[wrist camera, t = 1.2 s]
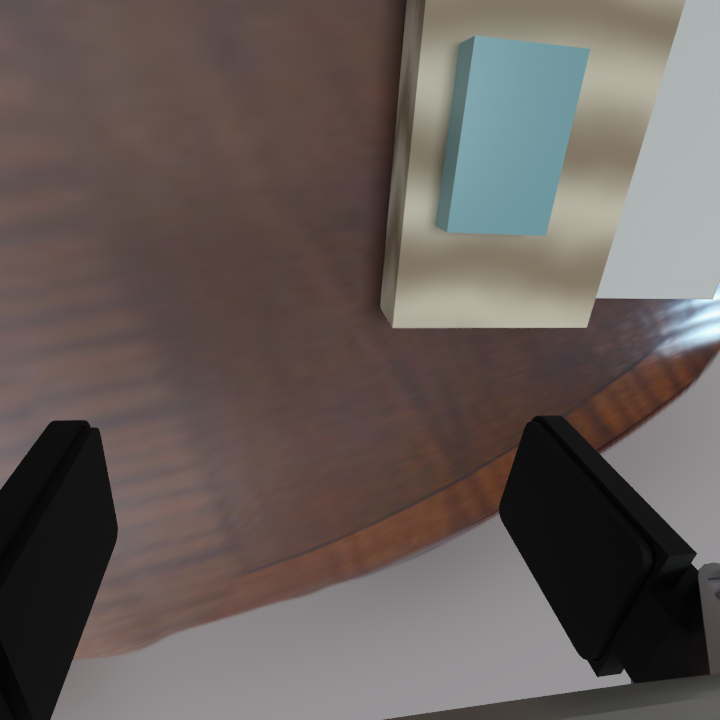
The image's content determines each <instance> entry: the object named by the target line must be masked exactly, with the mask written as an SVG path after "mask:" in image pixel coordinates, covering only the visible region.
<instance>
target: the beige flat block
mask: <svg viewBox="0 0 720 720" xmlns="http://www.w3.org/2000/svg"><path fill="white" fill-rule="evenodd" d="M685 1H686V0H407V2H406V14H405V25H404V37H403V48H402V60H401V71H400V83H399V95H398V106H397V118H396V129H395V141H394V152H393V164H392V175H391V187H390V198H389V210H388V221H387V233H386V244H385V256H384V267H383V279H382V290H381V302H380V308H381V310H382V311H383V313H384V315H385V316H386V318H387V320H388V321H389V323H390V325H391V327H392V328H587V325H588V322H589V318H590V315H591V312H592V308H593V305H594V302H595V298H596V295H597V292H598V289H599V285H600V282H601V279H602V275H603V272H604V269H605V265H606V262H607V259H608V255H609V252H610V249H611V246H612V242H613V239H614V236H615V232H616V229H617V226H618V222H619V219H620V216H621V213H622V209H623V206H624V203H625V199H626V196H627V193H628V189H629V186H630V183H631V179H632V176H633V173H634V170H635V166H636V163H637V160H638V156H639V153H640V150H641V146H642V143H643V140H644V136H645V133H646V130H647V127H648V123H649V120H650V117H651V113H652V110H653V107H654V103H655V100H656V97H657V93H658V90H659V87H660V84H661V80H662V77H663V74H664V70H665V67H666V64H667V60H668V57H669V54H670V50H671V47H672V44H673V41H674V37H675V34H676V31H677V27H678V24H679V21H680V17H681V14H682V11H683V7H684V4H685ZM475 35H476V36H484V37H493V38H501V39H510V40H518V41H527V42H535V43H544V44H553V45H561V46H570V47H578V48H587V49H590V52H589V57H588V61H587V65H586V69H585V74H584V78H583V82H582V86H581V90H580V95H579V99H578V103H577V107H576V111H575V116H574V120H573V124H572V128H571V132H570V137H569V141H568V145H567V149H566V153H565V158H564V162H563V166H562V170H561V175H560V179H559V183H558V187H557V191H556V196H555V200H554V204H553V208H552V212H551V217H550V221H549V225H548V229H547V233H546V236H532V235H505V234H477V233H449V232H445V231H443V230H442V229H440V228H438V227H436V219H437V212H438V204H439V197H440V189H441V181H442V174H443V166H444V159H445V151H446V144H447V136H448V129H449V121H450V113H451V106H452V98H453V91H454V83H455V76H456V68H457V60H458V53H459V45H460V43H461V42H463V41H465V40H467V39H469V38H471V37H473V36H475Z"/></svg>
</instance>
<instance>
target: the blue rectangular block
mask: <svg viewBox="0 0 720 720" xmlns="http://www.w3.org/2000/svg"><path fill="white" fill-rule="evenodd" d="M589 52H590V49H587V48H578V47H570V46H561V45H553V44H544V43H535V42H527V41H518V40H510V39H501V38H493V37H484V36H476V35H475V36H473V37H471V38H469V39H467V40H465V41H463V42H461V43H460V45H459V53H458V60H457V68H456V76H455V83H454V91H453V98H452V106H451V113H450V121H449V129H448V136H447V144H446V151H445V159H444V166H443V174H442V181H441V189H440V197H439V204H438V212H437V219H436V227H438V228H440V229H442V230H443V231H445V232H449V233H477V234H505V235H532V236H546V233H547V229H548V225H549V221H550V217H551V212H552V208H553V204H554V200H555V196H556V191H557V187H558V183H559V179H560V175H561V170H562V166H563V162H564V158H565V153H566V149H567V145H568V141H569V137H570V132H571V128H572V124H573V120H574V116H575V111H576V107H577V103H578V99H579V95H580V90H581V86H582V82H583V78H584V74H585V69H586V65H587V61H588V57H589Z"/></svg>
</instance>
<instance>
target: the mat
mask: <svg viewBox="0 0 720 720" xmlns="http://www.w3.org/2000/svg"><path fill="white" fill-rule="evenodd" d="M719 282H720V0H686V1H685V4H684V7H683V11H682V14H681V17H680V21H679V24H678V27H677V31H676V34H675V37H674V41H673V44H672V47H671V50H670V54H669V57H668V60H667V64H666V67H665V70H664V74H663V77H662V80H661V84H660V87H659V90H658V93H657V97H656V100H655V103H654V107H653V110H652V113H651V117H650V120H649V123H648V127H647V130H646V133H645V136H644V140H643V143H642V146H641V150H640V153H639V156H638V160H637V163H636V166H635V170H634V173H633V176H632V179H631V183H630V186H629V189H628V193H627V196H626V199H625V203H624V206H623V209H622V213H621V216H620V219H619V222H618V226H617V229H616V232H615V236H614V239H613V242H612V246H611V249H610V252H609V255H608V259H607V262H606V265H605V269H604V272H603V275H602V279H601V282H600V285H599V289H598V292H597V295H596V298H638V299H713V297H714V294H715V292H716V290H717V287H718V285H719Z"/></svg>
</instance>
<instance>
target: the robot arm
mask: <svg viewBox="0 0 720 720" xmlns="http://www.w3.org/2000/svg"><path fill="white" fill-rule="evenodd" d="M499 513H500V518H501V520H502V522H503V524H504V526H505V527H506V529H507V531H508V532H509V534H510V536H511V538H512V540H513V541H514V543H515V545H516V546H517V548H518V550H519V552H520V553H521V555H522V557H523V559H524V560H525V562H526V564H527V566H528V567H529V569H530V571H531V573H532V574H533V576H534V578H535V579H536V581H537V583H538V584H539V586H540V588H541V590H542V592H543V594H544V595H545V597H546V599H547V600H548V602H549V604H550V606H551V607H552V609H553V611H554V613H555V614H556V616H557V618H558V620H559V621H560V623H561V625H562V627H563V628H564V630H565V632H566V634H567V635H568V637H569V638H570V640H571V642H572V644H573V646H574V647H575V649H576V651H577V652H578V654H579V655H580V656H581V657H582V658H583V659H586V660H588V662H589V664H590V665H591V667H592V669H593V671H594V672H595V674H596V676H597V677H600V676H607V675H614V674H621V673H622V671H623V669H625V670H626V672H627V674H628V675H629V677H630V678H631V684H627V685H620V686H614V687H606V688H600V689H592V690H586V691H578V692H571V693H564V694H557V695H550V696H543V697H537V698H529V699H521V700H514V701H508V702H501V703H494V704H487V705H480V706H473V707H466V708H460V709H453V710H446V711H439V712H432V713H425V714H419V715H412V716H405V717H398V718H392V719H385V720H720V563H709V564H704V565H703V566H702V567H701V568H700V569H699V570H697V569H696V568H695V567H694V566H693V565H692V564H691V562H692V561H693V559H694V557H695V556H696V554H697V553H696V552H695V551H694V550H693V549H692V548H691V547H690V546H689V545H688V544H687V543H686V542H685V541H684V540H683V539H682V538H681V537H680V536H679V535H678V534H677V533H676V532H675V531H674V530H673V529H672V528H671V527H670V526H669V525H668V524H667V522H666V521H665V520H664V519H663V518H661V517H660V515H659V514H658V513H657V512H656V511H655V510H654V509H653V508H652V507H651V506H650V505H649V504H648V503H647V502H646V501H645V500H644V499H643V498H642V497H641V496H640V495H639V494H638V493H637V492H636V491H635V490H634V489H633V488H632V487H631V486H630V485H629V484H628V483H627V482H626V481H625V480H624V479H623V478H622V477H621V476H620V475H619V474H618V473H617V472H616V471H615V470H614V469H613V468H612V467H611V465H610V464H608V463H607V461H606V460H604V458H603V457H602V456H601V455H600V454H599V453H598V452H597V451H596V450H595V449H594V448H593V447H592V446H591V445H590V444H589V443H588V442H587V441H586V440H585V439H584V438H583V437H582V436H581V435H580V434H579V433H578V432H577V431H576V430H575V429H574V428H573V427H572V426H571V425H570V424H569V423H568V422H567V421H566V420H565V419H564V418H563V417H562V416H536V417H534V418H533V419H532V421H531V422H528V423H527V424H526V426H525V429H524V432H523V435H522V438H521V441H520V444H519V447H518V450H517V453H516V456H515V459H514V462H513V465H512V468H511V471H510V474H509V477H508V480H507V483H506V487H505V490H504V493H503V496H502V499H501V502H500V505H499ZM117 533H118V526H117V520H116V514H115V509H114V504H113V498H112V493H111V488H110V482H109V477H108V472H107V466H106V461H105V456H104V451H103V445H102V440H101V435H100V431H99V429H98V428H90V425H89V423H88V422H87V421H85V420H69V421H52V422H51V423H50V424H49V425H48V426H47V427H46V429H45V430H44V431H43V433H42V434H41V436H40V437H39V438H38V440H37V441H36V442H35V444H34V445H33V446H32V448H31V449H30V450H29V452H28V453H27V455H26V456H25V457H24V459H23V460H22V461H21V463H20V464H19V465H18V467H17V468H16V469H15V471H14V472H13V474H12V475H11V476H10V478H9V479H8V480H7V482H6V483H5V484H4V486H3V487H2V489H1V490H0V720H50V719H51V716H52V714H53V711H54V708H55V706H56V703H57V700H58V698H59V695H60V692H61V689H62V686H63V684H64V681H65V678H66V676H67V673H68V671H69V668H70V665H71V662H72V660H73V657H74V654H75V652H76V649H77V646H78V644H79V641H80V638H81V635H82V633H83V630H84V627H85V625H86V622H87V619H88V617H89V614H90V611H91V608H92V606H93V603H94V600H95V598H96V595H97V592H98V590H99V587H100V584H101V581H102V579H103V576H104V573H105V571H106V568H107V565H108V563H109V560H110V557H111V554H112V552H113V549H114V546H115V543H116V540H117Z"/></svg>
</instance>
